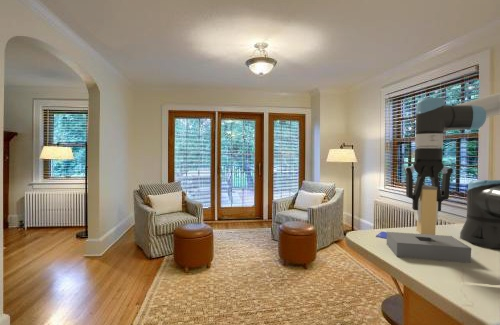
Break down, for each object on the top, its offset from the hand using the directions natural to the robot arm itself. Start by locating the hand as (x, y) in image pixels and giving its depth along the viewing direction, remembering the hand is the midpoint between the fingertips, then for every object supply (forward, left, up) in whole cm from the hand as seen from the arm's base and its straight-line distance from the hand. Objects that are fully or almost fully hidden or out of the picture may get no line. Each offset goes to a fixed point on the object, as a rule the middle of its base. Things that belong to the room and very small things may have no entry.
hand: (426, 220), depth 90 cm
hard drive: (+4, -15, -12) cm, 20 cm away
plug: (0, 0, -4) cm, 4 cm away
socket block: (0, 0, -11) cm, 11 cm away
